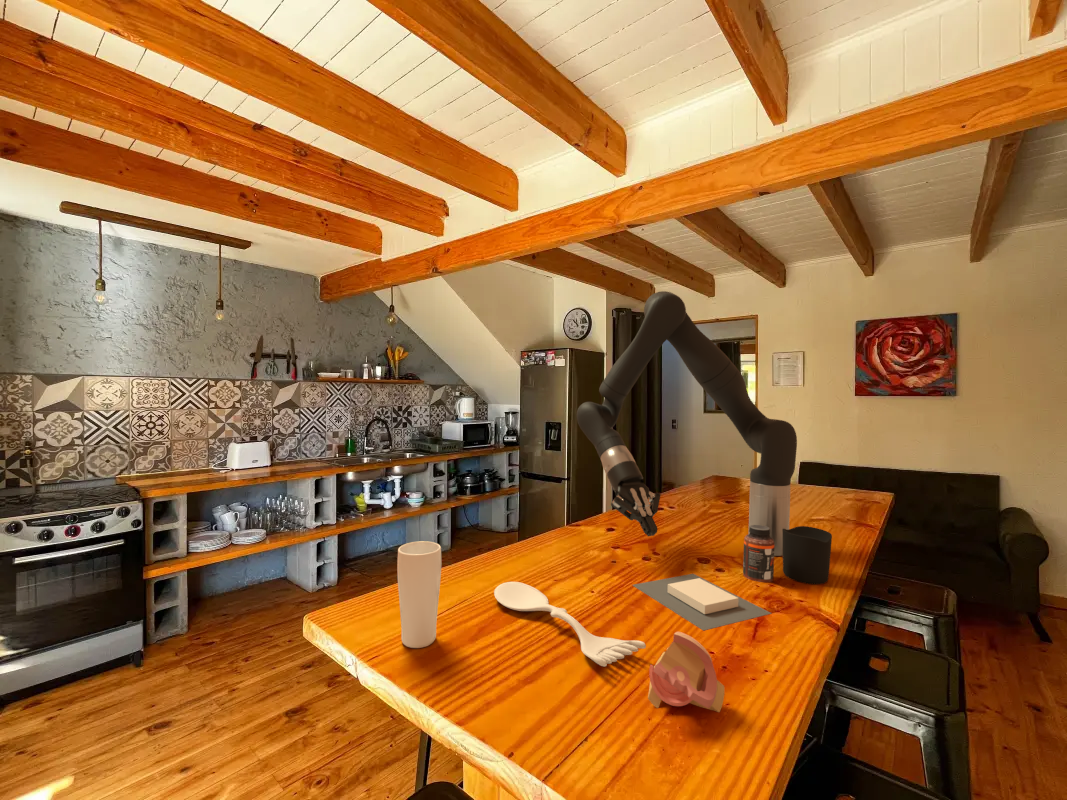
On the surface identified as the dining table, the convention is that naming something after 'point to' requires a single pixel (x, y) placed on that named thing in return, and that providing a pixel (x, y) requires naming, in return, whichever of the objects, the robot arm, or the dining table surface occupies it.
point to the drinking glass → (419, 591)
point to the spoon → (591, 646)
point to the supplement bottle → (758, 554)
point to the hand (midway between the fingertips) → (652, 534)
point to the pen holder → (806, 554)
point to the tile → (702, 595)
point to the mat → (694, 616)
